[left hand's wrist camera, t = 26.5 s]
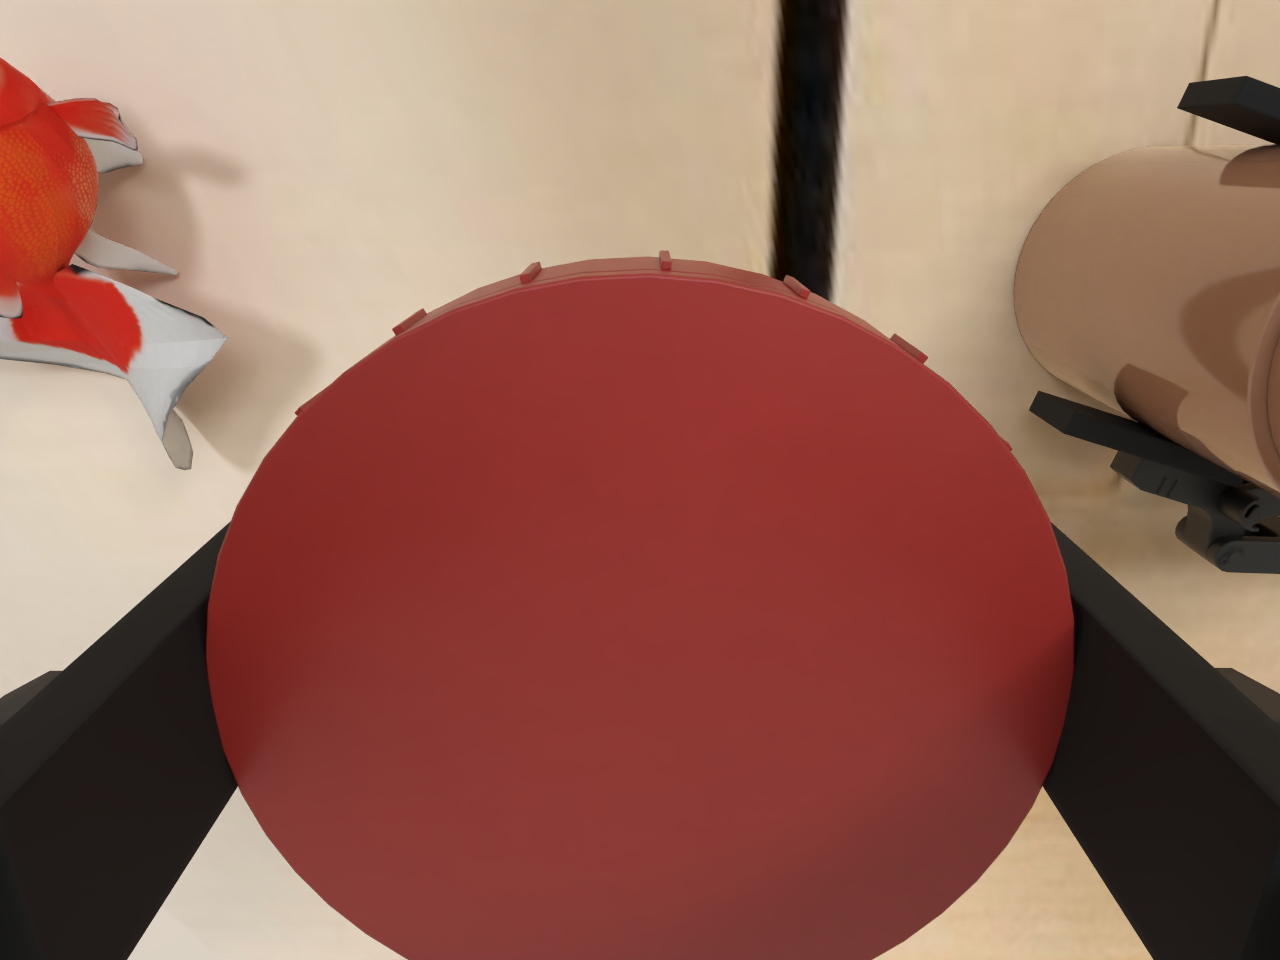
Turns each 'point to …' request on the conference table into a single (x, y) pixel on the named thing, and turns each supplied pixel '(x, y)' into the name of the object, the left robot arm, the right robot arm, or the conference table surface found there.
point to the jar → (1167, 296)
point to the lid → (640, 627)
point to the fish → (84, 259)
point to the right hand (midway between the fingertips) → (1125, 262)
